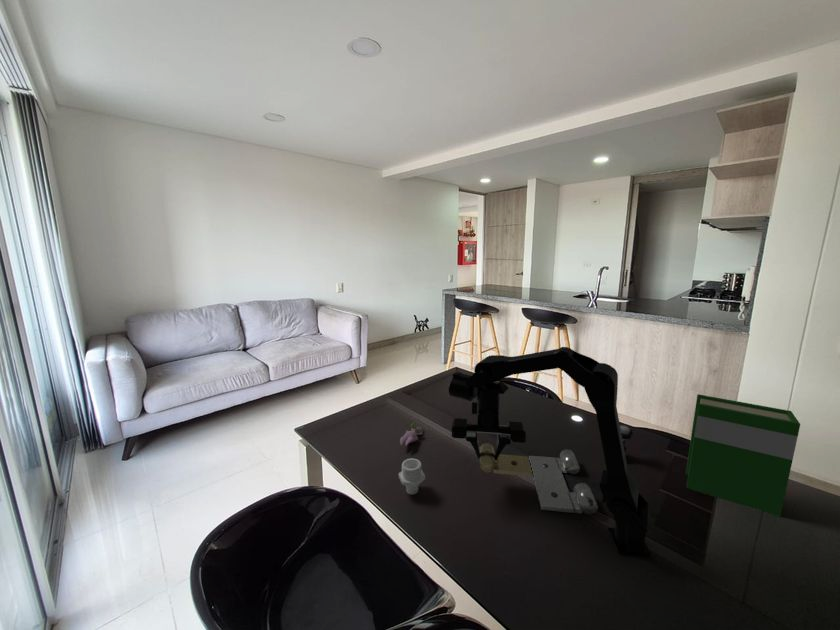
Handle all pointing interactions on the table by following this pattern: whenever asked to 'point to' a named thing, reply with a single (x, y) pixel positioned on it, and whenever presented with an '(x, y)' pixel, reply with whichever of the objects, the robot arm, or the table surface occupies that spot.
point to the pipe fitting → (411, 475)
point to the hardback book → (741, 452)
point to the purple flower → (411, 435)
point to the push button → (625, 434)
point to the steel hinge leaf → (561, 485)
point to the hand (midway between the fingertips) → (487, 458)
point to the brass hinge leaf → (503, 462)
